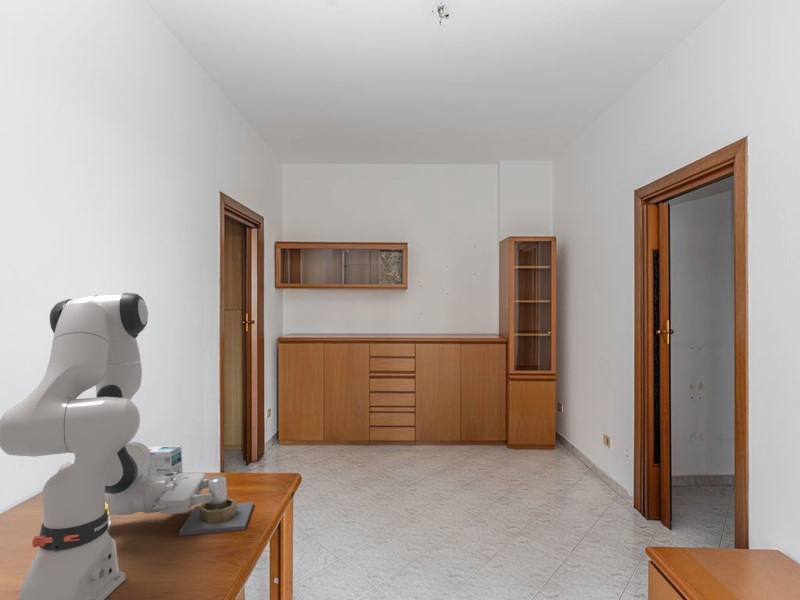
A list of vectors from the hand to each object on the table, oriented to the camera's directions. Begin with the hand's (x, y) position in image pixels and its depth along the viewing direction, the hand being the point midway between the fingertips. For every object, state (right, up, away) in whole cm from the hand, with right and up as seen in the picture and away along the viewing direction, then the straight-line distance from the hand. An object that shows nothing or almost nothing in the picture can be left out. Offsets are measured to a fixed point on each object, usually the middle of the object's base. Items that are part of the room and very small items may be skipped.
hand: (215, 490), depth 142 cm
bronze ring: (+1, -7, 0) cm, 7 cm away
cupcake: (-54, -10, +23) cm, 59 cm away
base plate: (+1, -8, 0) cm, 8 cm away
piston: (+1, -7, 0) cm, 7 cm away
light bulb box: (-29, -9, +33) cm, 44 cm away
